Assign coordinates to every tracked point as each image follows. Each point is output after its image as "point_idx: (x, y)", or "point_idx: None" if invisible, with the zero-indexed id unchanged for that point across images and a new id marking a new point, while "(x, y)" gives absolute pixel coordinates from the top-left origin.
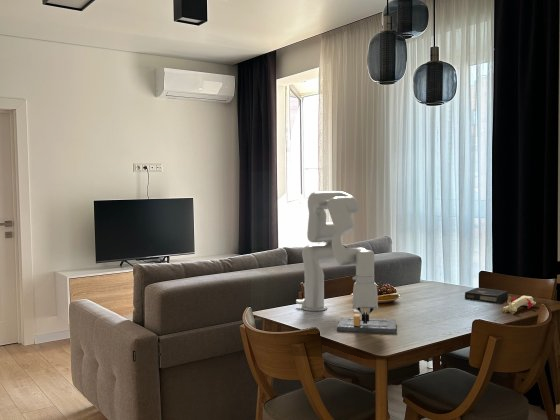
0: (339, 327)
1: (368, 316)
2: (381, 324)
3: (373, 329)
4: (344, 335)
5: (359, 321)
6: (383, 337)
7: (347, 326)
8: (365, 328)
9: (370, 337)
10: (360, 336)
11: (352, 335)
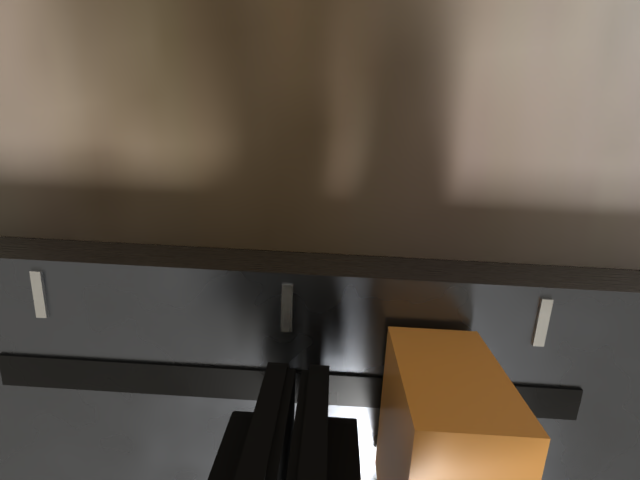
0: None
1: (217, 473)
2: (90, 450)
3: (186, 261)
4: (603, 79)
5: (398, 365)
6: (52, 37)
7: (569, 321)
8: (299, 269)
9: (229, 13)
10: (372, 51)
11: (485, 93)
